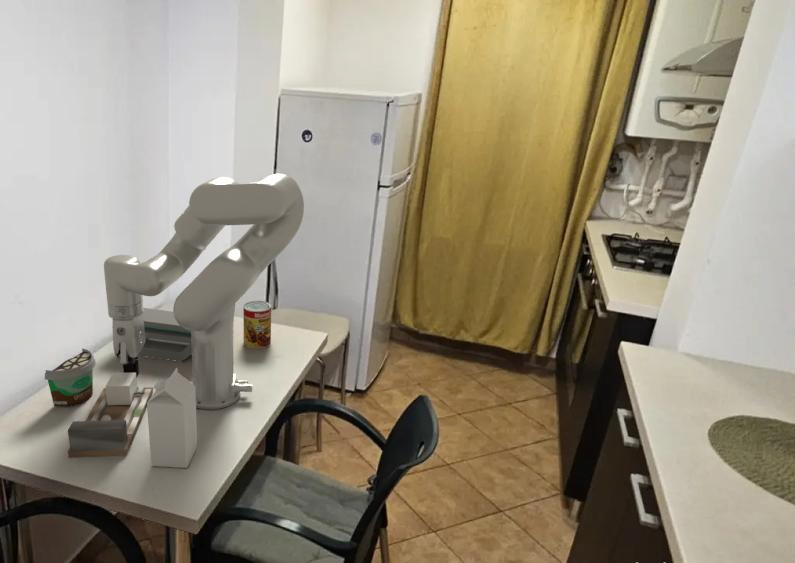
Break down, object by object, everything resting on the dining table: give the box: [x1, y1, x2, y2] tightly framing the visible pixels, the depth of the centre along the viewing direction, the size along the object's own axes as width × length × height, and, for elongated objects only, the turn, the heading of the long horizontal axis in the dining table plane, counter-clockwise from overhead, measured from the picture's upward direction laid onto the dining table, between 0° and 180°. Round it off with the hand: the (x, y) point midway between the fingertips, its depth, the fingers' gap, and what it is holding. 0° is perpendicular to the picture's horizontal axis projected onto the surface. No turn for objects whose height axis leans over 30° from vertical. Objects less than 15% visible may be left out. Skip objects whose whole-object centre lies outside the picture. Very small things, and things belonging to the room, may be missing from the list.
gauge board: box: [67, 385, 154, 458], centre depth 124 cm, size 24×11×6 cm, turn 11°
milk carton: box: [146, 367, 198, 469], centre depth 112 cm, size 7×7×19 cm
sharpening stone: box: [138, 307, 192, 362], centre depth 154 cm, size 25×8×11 cm, turn 84°
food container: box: [44, 348, 96, 408], centre depth 130 cm, size 12×6×10 cm, turn 168°
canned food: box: [242, 300, 272, 350], centre depth 164 cm, size 8×8×12 cm
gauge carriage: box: [105, 372, 145, 405], centre depth 130 cm, size 7×7×5 cm
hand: (131, 375), depth 137 cm, fingers closed
